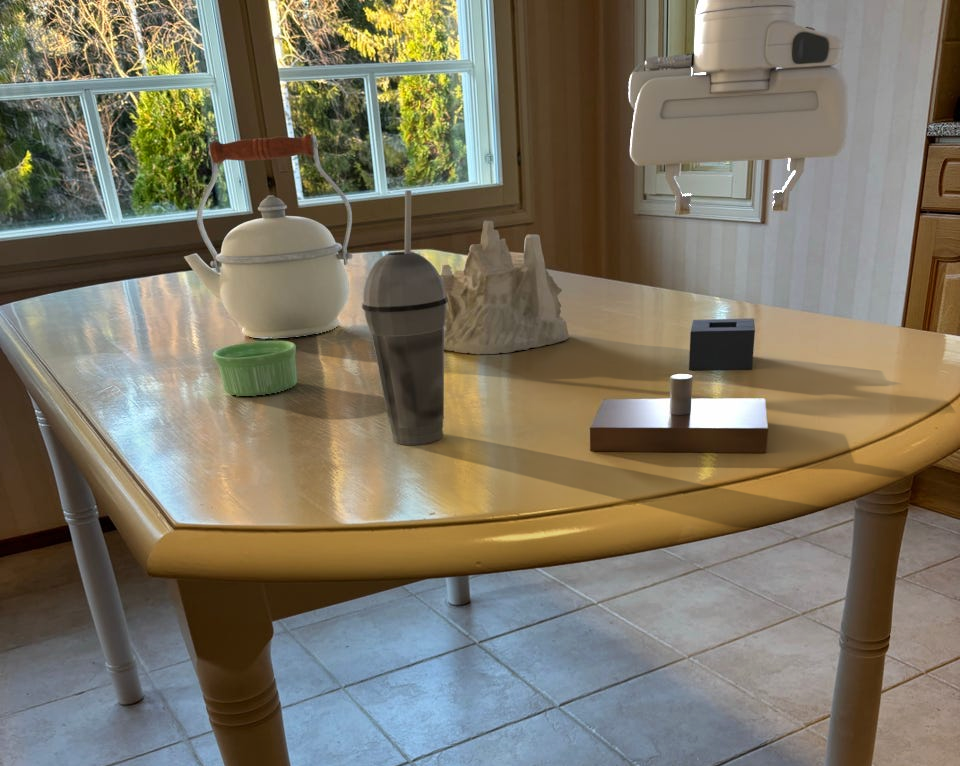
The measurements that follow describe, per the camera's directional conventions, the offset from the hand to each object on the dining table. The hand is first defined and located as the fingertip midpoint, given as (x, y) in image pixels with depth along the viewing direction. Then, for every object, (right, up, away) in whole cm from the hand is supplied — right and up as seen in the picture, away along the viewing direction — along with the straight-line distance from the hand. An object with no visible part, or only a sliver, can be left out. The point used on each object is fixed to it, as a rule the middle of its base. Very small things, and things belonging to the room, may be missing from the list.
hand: (730, 212), depth 93 cm
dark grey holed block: (+1, -13, +8) cm, 15 cm away
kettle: (-54, +2, +43) cm, 69 cm away
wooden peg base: (-8, -26, -14) cm, 30 cm away
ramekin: (-50, -15, +11) cm, 53 cm away
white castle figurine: (-23, -5, +26) cm, 35 cm away
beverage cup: (-31, -25, -9) cm, 41 cm away
